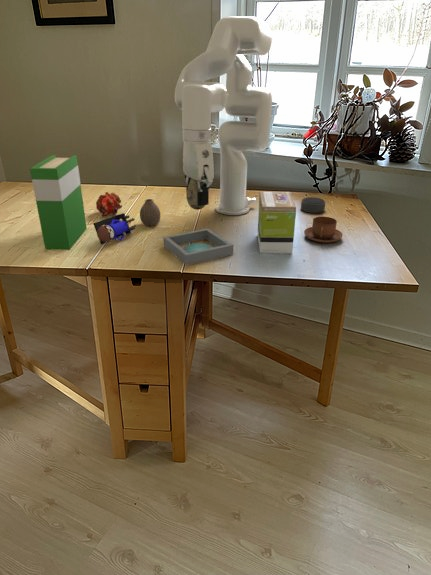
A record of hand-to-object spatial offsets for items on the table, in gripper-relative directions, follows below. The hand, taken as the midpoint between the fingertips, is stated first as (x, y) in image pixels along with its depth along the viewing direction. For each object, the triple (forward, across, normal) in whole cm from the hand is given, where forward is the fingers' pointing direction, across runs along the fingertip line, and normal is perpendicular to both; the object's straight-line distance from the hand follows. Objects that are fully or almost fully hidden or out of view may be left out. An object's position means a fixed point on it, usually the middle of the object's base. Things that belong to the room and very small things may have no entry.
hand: (197, 201), depth 124 cm
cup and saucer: (+15, -10, -40) cm, 44 cm away
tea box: (+15, -7, -23) cm, 29 cm away
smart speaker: (+15, +13, -56) cm, 60 cm away
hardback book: (+15, +28, +32) cm, 45 cm away
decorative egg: (+3, 0, 0) cm, 3 cm away
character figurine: (+15, +20, +18) cm, 31 cm away
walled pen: (+15, 0, 0) cm, 15 cm away
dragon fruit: (+15, +44, +13) cm, 48 cm away
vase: (+15, +27, +4) cm, 31 cm away
